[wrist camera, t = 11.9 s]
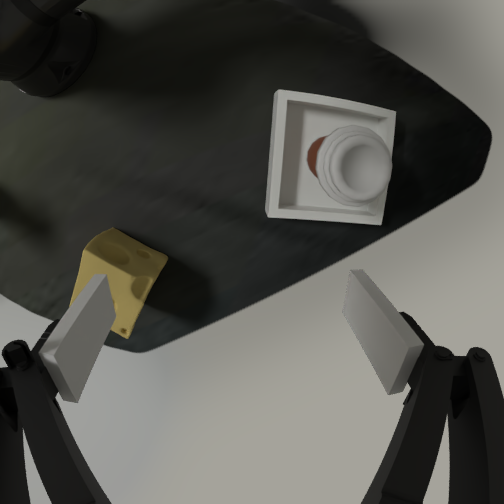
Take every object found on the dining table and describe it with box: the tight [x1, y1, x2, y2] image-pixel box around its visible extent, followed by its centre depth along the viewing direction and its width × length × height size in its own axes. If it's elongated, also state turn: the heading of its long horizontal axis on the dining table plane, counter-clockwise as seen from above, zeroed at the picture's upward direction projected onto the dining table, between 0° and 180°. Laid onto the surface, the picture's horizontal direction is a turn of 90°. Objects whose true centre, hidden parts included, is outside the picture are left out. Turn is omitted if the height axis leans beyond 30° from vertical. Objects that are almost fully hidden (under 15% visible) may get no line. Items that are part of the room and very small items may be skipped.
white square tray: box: [265, 90, 396, 225], centre depth 38 cm, size 17×17×4 cm
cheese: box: [70, 228, 168, 339], centre depth 40 cm, size 10×11×10 cm
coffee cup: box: [306, 125, 392, 207], centre depth 34 cm, size 9×9×12 cm
